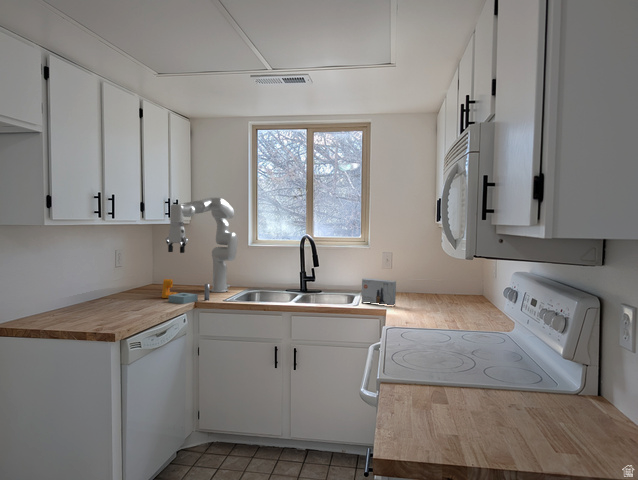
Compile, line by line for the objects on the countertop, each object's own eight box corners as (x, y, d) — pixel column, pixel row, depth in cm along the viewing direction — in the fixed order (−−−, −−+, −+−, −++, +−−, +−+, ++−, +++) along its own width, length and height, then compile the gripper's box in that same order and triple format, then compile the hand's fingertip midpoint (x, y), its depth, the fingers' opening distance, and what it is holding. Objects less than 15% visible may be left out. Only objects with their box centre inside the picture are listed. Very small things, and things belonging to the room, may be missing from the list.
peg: (206, 299, 269) (206, 283, 269) (210, 300, 268) (210, 284, 268) (203, 300, 267) (203, 284, 266) (207, 300, 265) (207, 284, 265)
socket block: (182, 298, 269) (183, 292, 269) (197, 300, 264) (197, 294, 264) (168, 301, 258) (168, 295, 258) (183, 303, 253) (183, 297, 253)
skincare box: (360, 303, 270) (361, 278, 269) (364, 302, 274) (364, 277, 274) (393, 307, 260) (393, 281, 259) (395, 306, 265) (396, 280, 264)
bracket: (173, 299, 268) (173, 280, 267) (161, 299, 267) (162, 280, 267) (177, 296, 278) (177, 278, 278) (166, 296, 278) (166, 277, 277)
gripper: (191, 225, 261) (191, 252, 261) (171, 224, 268) (170, 251, 269) (182, 224, 254) (182, 253, 254) (161, 224, 262) (161, 251, 262)
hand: (176, 252), depth 262 cm, fingers open, 9 cm apart
